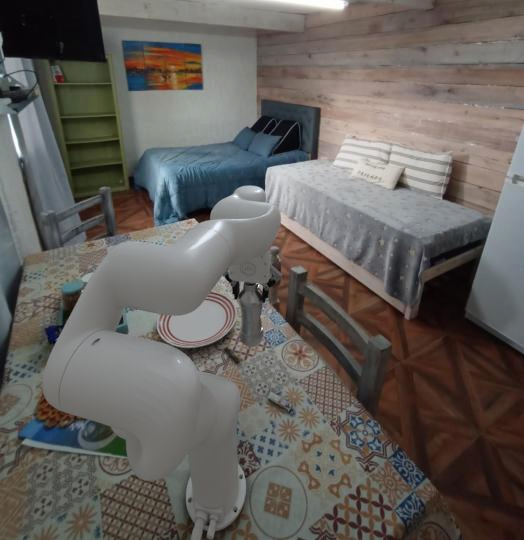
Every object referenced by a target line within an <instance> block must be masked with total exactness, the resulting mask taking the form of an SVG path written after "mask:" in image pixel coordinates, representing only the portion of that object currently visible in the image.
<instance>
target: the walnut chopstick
mask: <svg viewBox="0 0 524 540" xmlns="http://www.w3.org/2000/svg"><path fill="white" fill-rule="evenodd" d="M224 351H225V352H226V353H227V354H228V355H229V356H230V357H231V358H232V359H233V360H234V361H235V362H236V363H237V364H239V363H240V362H241V360H240V359H239V357H237V356H236V354H235V353H233V351H231V350H230V349H229V348H228V347H224Z"/></svg>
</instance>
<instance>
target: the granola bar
mask: <svg viewBox="0 0 524 540" xmlns="http://www.w3.org/2000/svg"><path fill="white" fill-rule="evenodd" d="M267 400H270V401H272V402H273V403H275V404H276V405H278V406H280V407H282V408H283V409H285V410H287V412H290V410H291V408H292V406H293V402H290V401H288V400H287V399H285V398H283V397H282V396H280V395H278V394H276V393H275V392H273V391H271V390H270V392H269V394H268V395H267Z"/></svg>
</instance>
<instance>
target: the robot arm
mask: <svg viewBox="0 0 524 540" xmlns="http://www.w3.org/2000/svg"><path fill="white" fill-rule="evenodd" d="M280 211H281V210H280V209H279V208H278V206H277V205H275V204H274V203H270V202H267V194H266V191H265V190H264V189H263V188H262V187H260V186H257V185H241V186H240V187H238V188H236V189H235V190H234V191H233V193H231V195H228V196H226V197H224V198H222V199H221V200H219V201H218V202H217V203H216V204H215V205H214V206H213V208H212V209H211V212H210V216H209V219H208V220H205V221H200V222H198V223H197V224H196V225H194V226H193V227H192V228H191V229H189V230H188V231H186V232H185V233H184V234H183V235H182V236H180V237H179V238H178V239H176V240H175V241H173V242H172V243H171V244H166V245H165V244H164V245H163V244H156V243H150V242H142V241H135V240H126V241H125V240H124V241H122V242H119V243H118V244H117V245H115V246H114V247H112V248H111V249H110V250H109V251H108V252H107V253H106V254H105V256H104V257H103V258H102V260H100V262H99V263H98V265H97V266H96V268H95V270H94V271H93V273H92V274H91V276H90V278H89V279H88V281H87V282H86V284H85V286H84V288H83V289H82V291H81V294H80V296H79V297H78V299H77V301H76V303H75V305H74V307H73V309H72V311H71V312H70V315H69V316H68V318H67V321H66V322H65V324H64V326H63V328H62V330H61V332H60V334H59V335H58V338H57V339H56V342H55V344H54V345H53V347H52V349H51V352H50V354H49V356H48V359H47V362H46V363H45V366H44V369H43V375H42V380H41V386H42V387H41V388H42V389H41V390H42V394H43V397H44V399H45V400H46V402H47V403H48V404H49V405H51V407H53V408H54V409H55V410H58V411H60V412H62V413H65V414H68V415H71V416H75V417H79V418H81V419H84V420H89V421H92V422H95V423H99V424H102V425H104V426H107V427H110V428H111V430H112V432H113V433H114V434H115V435H116V436H117V437H119V438H121V439H123V440H124V441H125V450H126V457H127V461H128V464H129V466H130V469H131V471H132V472H133V474H134V475H135V476H136V477H137V478H138V479H139V480H142V481H145V482H155V481H158V480H159V481H160V480H162V479H164V478H166V477H168V476H169V475H171V473H173V472H175V470H176V469H178V467H179V466H180V465H181V464H182V463H183V461H184V460H185V458H186V457H188V458H187V460H188V464H189V465H188V466H189V474H190V476H189V478H188V481H187V485H186V489H185V505H186V510H187V513H188V515H189V517H190V519H191V521H192V522H193V524H194V526H193V529H192V530H191V531H192V533H191V535H190V540H202V538H203V532H204V531H206V532H207V533H206V539H207V540H214V537H215V533H216V532H219V531H221V530H224V529H226V528H228V527H229V526H230V525H231V524H232V523H234V521H236V519H237V518H238V517H239V515H240V513H241V511H242V509H243V507H244V505H245V501H246V497H247V496H246V495H247V479H246V475H245V472H244V470H243V468H242V466H241V465H240V463H239V456H238V455H239V454H238V422H239V416H240V411H241V403H242V402H241V400H242V398H241V397H242V396H241V391H240V388H239V387H238V385H237V383H235V382H234V381H233V380H231V379H229V378H227V377H224V376H222V375H219V374H214V373H211V372H210V373H209V372H207V371H206V372H205V371H202V370H198V368H197V366H196V364H195V363H194V361H193V360H192V359H191V357H190V356H188V355H187V354H186V353H184V352H183V351H181V350H180V349H179V348H178V347H176V346H173V345H171V344H169V343H166V342H165V343H164V342H161V341H157V340H152V339H147V338H143V337H141V336H140V337H139V336H137V335H136V336H135V335H130V334H126V333H122V332H118V331H117V329H118V327H119V324H120V322H121V320H122V317H123V315H124V312H125V309H126V308H127V309H131V310H138V311H142V312H147V313H152V314H157V315H159V314H162V315H170V316H180V315H185V314H188V313H190V312H192V311H194V310H196V309H197V308H198V307H199V306H200V305H201V304H202V303H203V301H204V300H205V299H206V297H207V296H208V294H209V293H210V292H211V291H213V289H214V288H215V287H216V285H217V284H218V282H219V281H220V280H221V278H222V277H224V279H225V280H226V281H227V282H228V284H230V286H231V290H232V291H231V293H232V295H233V297H234V300H235V301H238V297H239V294H240V292H241V285H240V283H244V282H249V283H258V285H259V284H261V285H262V290H261V293H262V302H263V304H265V303H266V300H267V299H269V297H270V288H272V287H273V286H274V285H276V284H277V283H278V282H279V281H280V280H281V279H282V278H283V274H282V273H281V271H279V270H278V269H277V268H276V267H275V266H274V265H273V264H272V256H271V248H272V246H273V244H274V242H275V241H276V239H277V237H278V234H279V232H280V229H281V225H282V215H281V212H280ZM271 275H272V277H271ZM235 511H236V512H235Z"/></svg>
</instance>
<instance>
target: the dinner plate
mask: <svg viewBox="0 0 524 540" xmlns="http://www.w3.org/2000/svg"><path fill="white" fill-rule="evenodd" d="M237 309H238V308H237V306H236V304H235V302H234V301H233V300H232V299H231V298H230V297H229V296H227V295H226V294H224V293H222V292H219V291H215V290H211V292H210V293H209V294H208V296H207V297H206V299H205V300H204V301H203V303H202V304H201V305H200V306H199V307H198V308H197V309H196V310H194V311H192V312H190V313H188V314H185V315H180V316H170V315H162V314H158V316H157V319H156V330H157V334H158V335H159V337H160V338H161V339H162V340H163V341H164V342H165V343H166V344H168V345H170V346H173V347H175V348H183V349H195V348H201V347H205V346H208V345H211V344H214V343H216V342H218V341H219V340H221V339H222V338H224V337H225V336H226V335H227V334H228V333H229V332H230V331H231V330H232V328H233V327H234V325H235V324H236V320H237V316H238V311H237Z"/></svg>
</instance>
